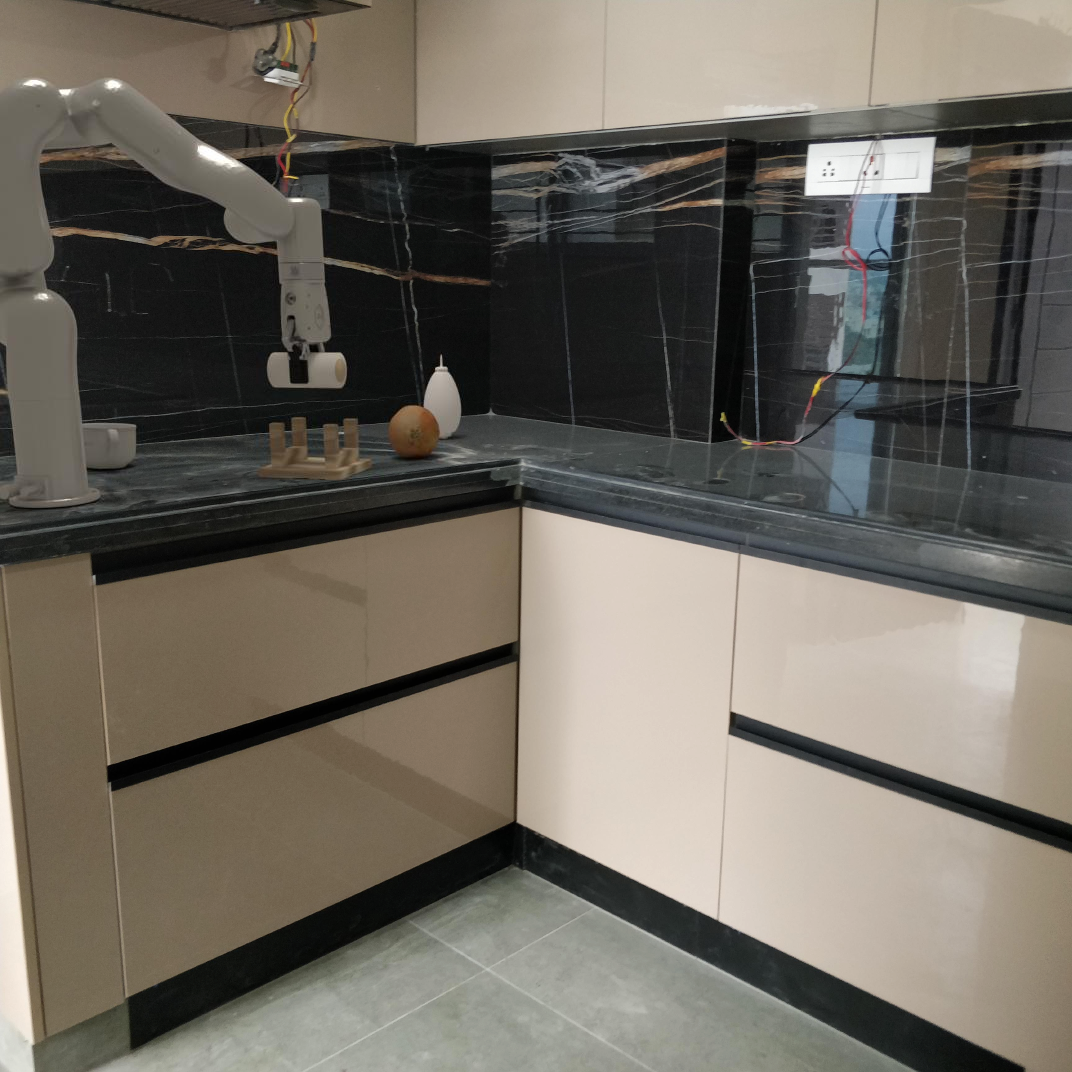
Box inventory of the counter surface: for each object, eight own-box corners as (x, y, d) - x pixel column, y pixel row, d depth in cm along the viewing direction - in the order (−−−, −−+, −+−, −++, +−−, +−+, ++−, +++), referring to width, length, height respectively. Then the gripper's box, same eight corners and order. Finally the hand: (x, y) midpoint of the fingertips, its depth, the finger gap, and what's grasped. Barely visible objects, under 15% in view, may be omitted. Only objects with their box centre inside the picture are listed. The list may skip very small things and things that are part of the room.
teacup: (76, 465, 197) (72, 421, 195) (138, 461, 201) (135, 419, 199) (74, 476, 185) (70, 430, 183) (141, 472, 188) (137, 427, 187)
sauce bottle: (417, 438, 232) (415, 354, 228) (443, 435, 238) (441, 353, 234) (442, 441, 227) (440, 356, 223) (468, 437, 233) (466, 354, 229)
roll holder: (339, 480, 179) (337, 426, 177) (258, 477, 183) (255, 424, 181) (371, 467, 192) (369, 417, 191) (295, 464, 196) (292, 415, 194)
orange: (396, 463, 198) (394, 409, 196) (383, 456, 207) (381, 404, 205) (446, 460, 201) (445, 407, 199) (431, 453, 210) (430, 402, 208)
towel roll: (334, 389, 180) (332, 353, 178) (267, 388, 183) (264, 353, 181) (348, 386, 186) (346, 351, 184) (283, 385, 188) (281, 351, 187)
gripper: (299, 273, 171) (306, 386, 175) (343, 274, 187) (348, 378, 191) (257, 274, 173) (264, 386, 177) (303, 275, 189) (309, 377, 193)
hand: (308, 381), depth 184 cm, fingers closed on towel roll, 6 cm apart
